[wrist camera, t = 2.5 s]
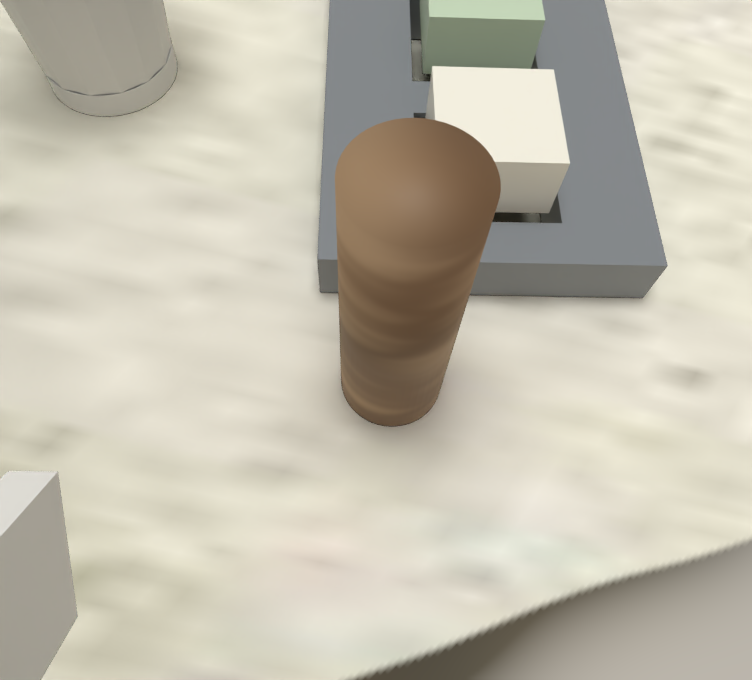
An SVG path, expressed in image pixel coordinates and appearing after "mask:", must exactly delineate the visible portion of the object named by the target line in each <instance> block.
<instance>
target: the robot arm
mask: <svg viewBox="0 0 752 680" xmlns="http://www.w3.org/2000/svg"><path fill="white" fill-rule="evenodd" d="M77 617H78V615H77V608H76V601H75V593H74V586H73V579H72V571H71V564H70V556H69V549H68V542H67V534H66V527H65V520H64V512H63V505H62V498H61V490H60V483H59V476H58V472H55V471H8V472H7V473H6V474H5V475H4V476H3V477H2V478H1V479H0V680H41V679H42V677H43V675H44V674H45V672H46V670H47V668H48V667H49V665H50V663H51V662H52V660H53V658H54V656H55V655H56V653H57V651H58V650H59V648H60V646H61V644H62V643H63V641H64V639H65V637H66V636H67V634H68V632H69V631H70V629H71V627H72V625H73V624H74V622H75V620H76V619H77Z"/></svg>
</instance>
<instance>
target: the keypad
mask: <svg viewBox="0 0 752 680" xmlns="http://www.w3.org/2000/svg"><path fill="white" fill-rule="evenodd" d="M542 4H543V10H544V15H545V23H544V26H543V30H542V33H541V37H540V40H539V43H538V47H537V50H536V54H535V57H534V60H533V64H532V67H531V69H554V73H555V79H556V85H557V91H558V97H559V102H560V108H561V114H562V120H563V125H564V131H565V137H566V143H567V149H568V154H569V160H570V165H569V167H568V170H567V172H566V174H565V177H564V179H563V181H562V184H561V186H560V188H559V191H558V193H557V195H556V198H555V200H554V202H553V205H552V207H551V209H550V212H549V213H540V216H541V223H521V222H492V224H491V227H490V231H489V234H488V237H487V240H486V243H485V247H484V250H483V253H482V256H481V259H480V263H479V266H478V269H477V272H476V276H475V279H474V282H473V285H472V288H471V292H470V295H515V296H573V297H630V298H643V297H644V296H645V294H646V293H647V292H648V291H649V289H650V288H651V287H652V285H653V284H654V283H655V282H656V280H657V279H658V278H659V276H660V275H661V274H662V272H663V271H664V270H665V269H666V267H667V262H666V257H665V253H664V249H663V245H662V240H661V236H660V232H659V228H658V224H657V219H656V215H655V211H654V207H653V203H652V198H651V194H650V190H649V186H648V182H647V177H646V173H645V169H644V165H643V161H642V156H641V152H640V148H639V144H638V140H637V135H636V131H635V127H634V123H633V119H632V114H631V110H630V106H629V102H628V97H627V93H626V89H625V85H624V81H623V76H622V72H621V68H620V64H619V60H618V55H617V51H616V47H615V43H614V39H613V34H612V30H611V26H610V22H609V18H608V13H607V9H606V5H605V1H604V0H542ZM411 39H421V25H420V0H330V8H329V29H328V50H327V70H326V91H325V112H324V133H323V154H322V174H321V195H320V216H319V237H318V258H317V260H318V273H319V285H320V292H338V262H337V231H336V200H335V171H336V166H337V163H338V160H339V158H340V156H341V154H342V152H343V151H344V149H345V148H346V146H347V145H348V144H349V143H350V142H351V141H352V140H353V139H354V138H355V137H356V136H358V135H359V134H360V133H362V132H363V131H365V130H366V129H368V128H370V127H372V126H375V125H377V124H380V123H383V122H386V121H390V120H394V119H401V118H425V116H426V109H427V101H428V94H429V86H430V82H429V81H412V57H411Z"/></svg>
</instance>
